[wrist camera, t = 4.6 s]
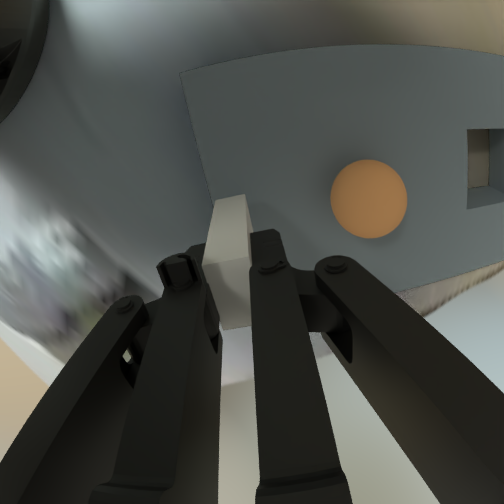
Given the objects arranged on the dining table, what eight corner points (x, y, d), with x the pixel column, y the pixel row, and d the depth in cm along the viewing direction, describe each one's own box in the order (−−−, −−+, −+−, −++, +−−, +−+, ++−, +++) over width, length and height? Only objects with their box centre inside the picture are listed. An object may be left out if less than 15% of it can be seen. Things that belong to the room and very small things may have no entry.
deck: (245, 295, 24) (246, 325, 21) (189, 77, 17) (179, 72, 14) (512, 232, 23) (534, 249, 20) (513, 62, 15) (541, 64, 12)
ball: (326, 226, 18) (347, 259, 14) (317, 158, 16) (339, 176, 13) (389, 214, 18) (420, 243, 14) (384, 148, 16) (420, 165, 12)
